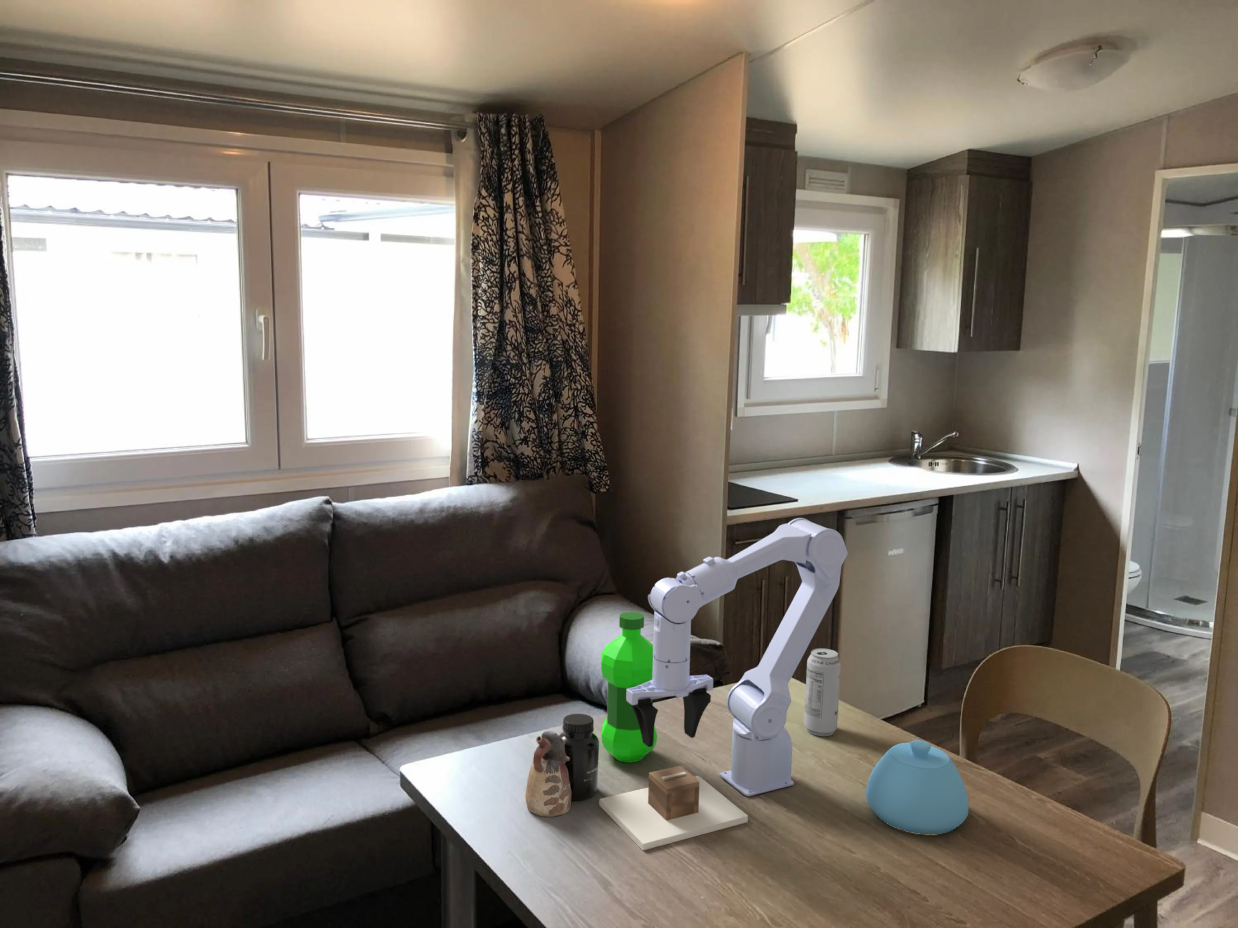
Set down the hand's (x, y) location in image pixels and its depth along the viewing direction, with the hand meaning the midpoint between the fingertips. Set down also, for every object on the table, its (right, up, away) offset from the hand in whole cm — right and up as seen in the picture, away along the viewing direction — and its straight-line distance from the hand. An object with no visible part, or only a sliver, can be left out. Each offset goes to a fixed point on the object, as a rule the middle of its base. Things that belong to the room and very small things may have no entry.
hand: (668, 739), depth 147 cm
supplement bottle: (-15, -9, +2) cm, 17 cm away
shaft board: (0, -10, -4) cm, 11 cm away
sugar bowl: (+38, -11, -2) cm, 39 cm away
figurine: (-19, -10, -2) cm, 21 cm away
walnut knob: (0, -9, -4) cm, 10 cm away
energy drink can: (+29, -6, +27) cm, 40 cm away
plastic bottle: (-6, -7, +15) cm, 18 cm away
